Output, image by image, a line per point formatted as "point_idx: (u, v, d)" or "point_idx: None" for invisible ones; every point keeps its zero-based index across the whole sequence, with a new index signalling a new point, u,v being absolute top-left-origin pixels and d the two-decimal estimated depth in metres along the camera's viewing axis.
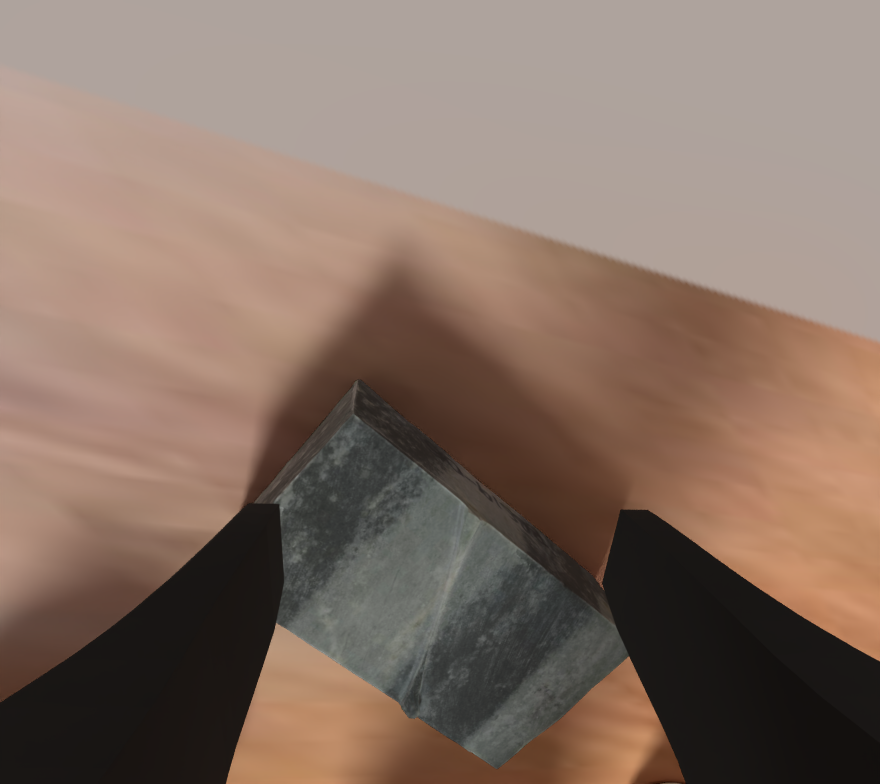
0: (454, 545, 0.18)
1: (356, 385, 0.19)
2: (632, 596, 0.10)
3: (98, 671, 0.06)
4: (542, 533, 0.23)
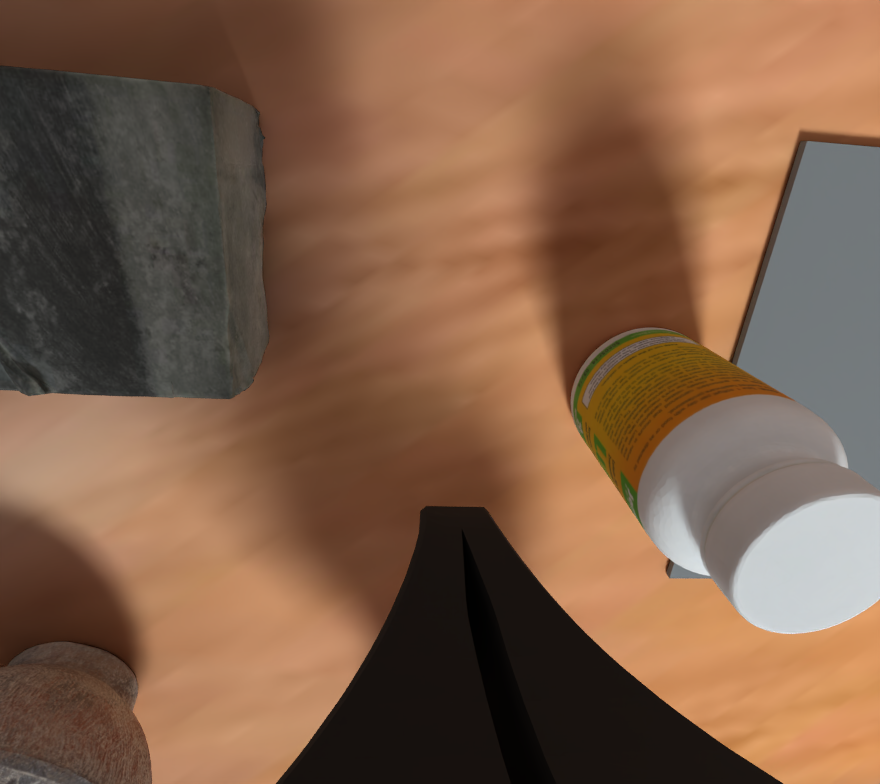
0: None
1: None
2: None
3: (410, 667, 0.06)
4: None
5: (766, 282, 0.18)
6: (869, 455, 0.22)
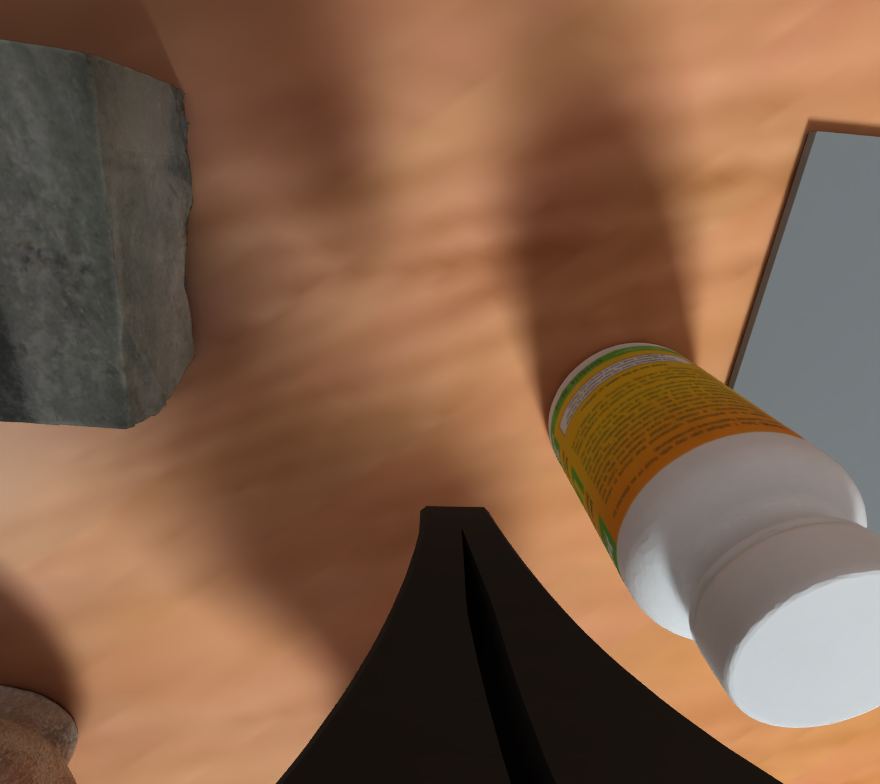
0: None
1: None
2: None
3: (410, 667, 0.06)
4: None
5: (768, 292, 0.16)
6: None
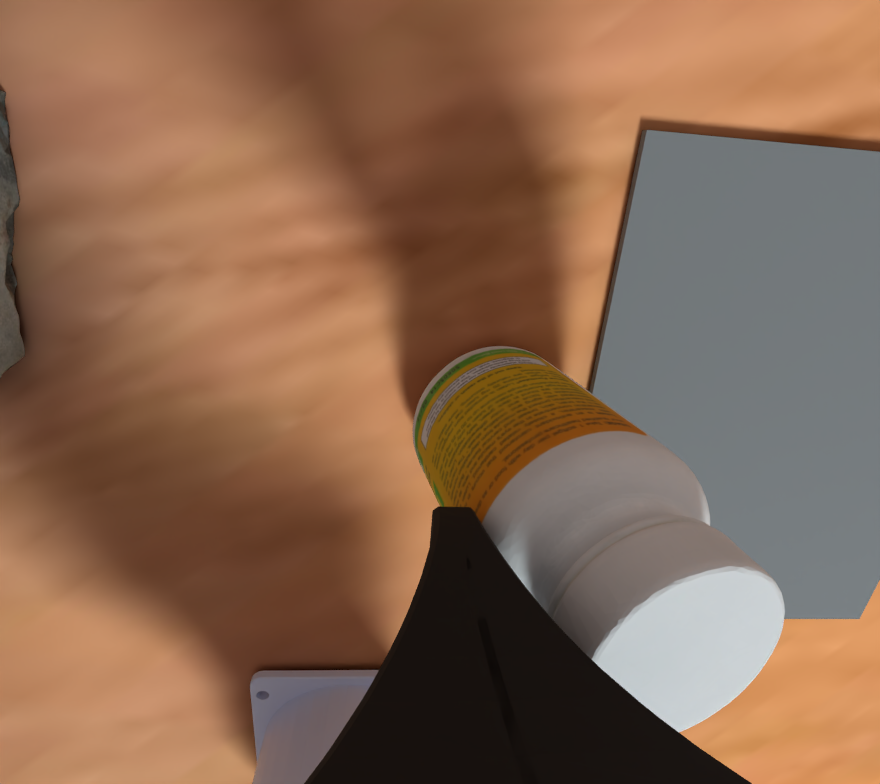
0: None
1: None
2: None
3: (431, 667, 0.06)
4: None
5: (618, 292, 0.16)
6: (757, 484, 0.19)
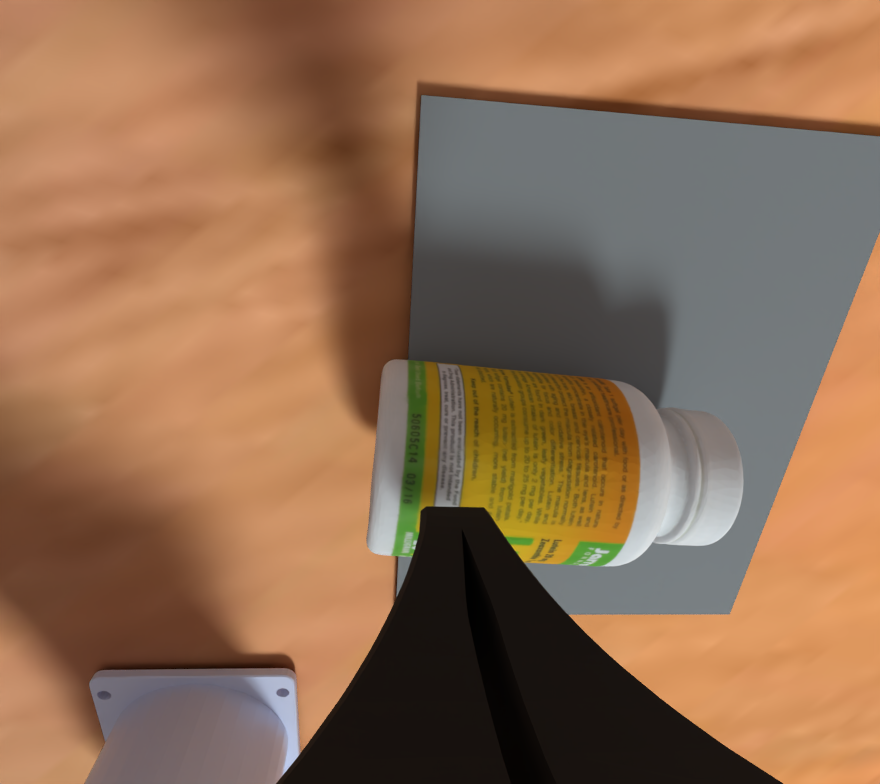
0: None
1: None
2: None
3: (411, 667, 0.06)
4: None
5: (418, 271, 0.15)
6: None
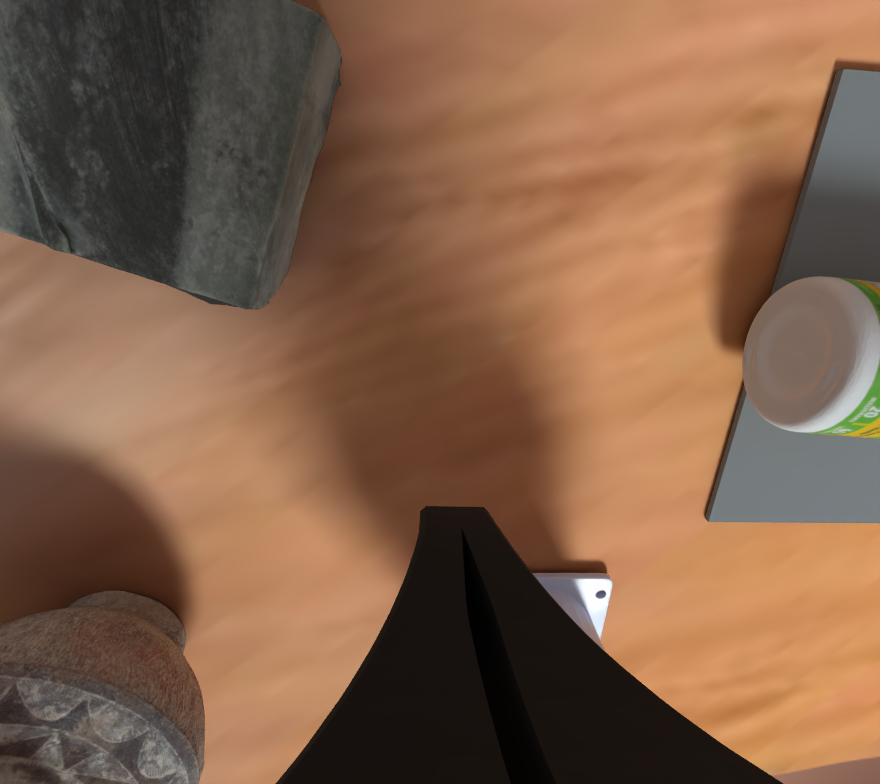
0: None
1: None
2: None
3: (410, 668, 0.06)
4: None
5: (804, 213, 0.19)
6: None
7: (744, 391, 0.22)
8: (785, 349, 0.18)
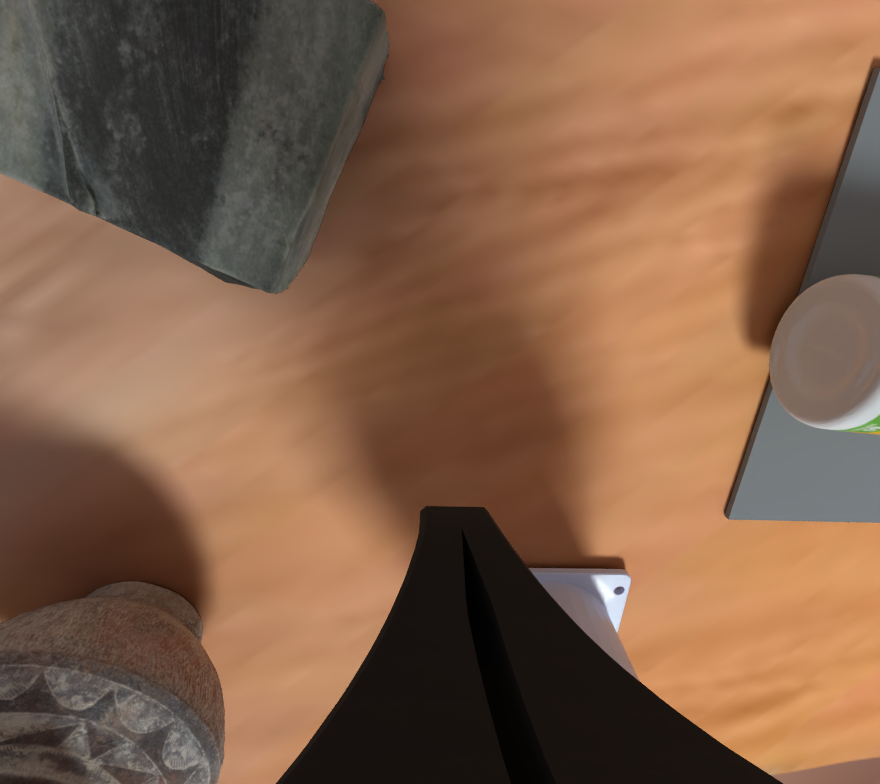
0: None
1: None
2: None
3: (410, 667, 0.06)
4: None
5: (836, 211, 0.19)
6: None
7: (769, 389, 0.22)
8: (815, 347, 0.18)
